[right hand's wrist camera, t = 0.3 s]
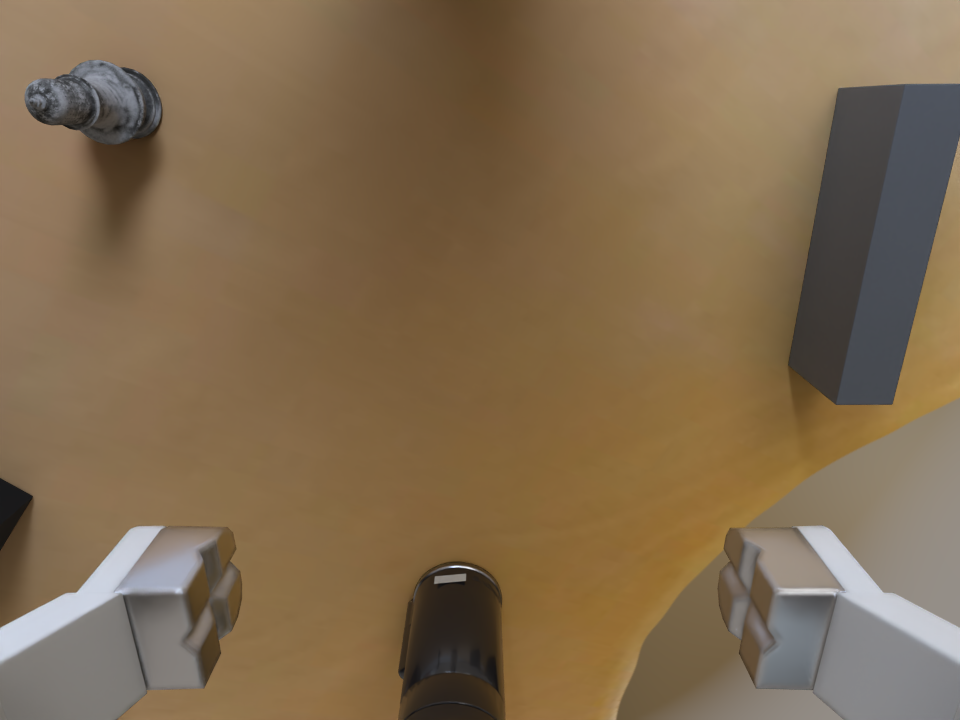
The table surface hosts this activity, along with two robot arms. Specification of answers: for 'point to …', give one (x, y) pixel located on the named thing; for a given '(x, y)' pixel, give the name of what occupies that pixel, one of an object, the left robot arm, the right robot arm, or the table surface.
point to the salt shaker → (97, 102)
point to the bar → (873, 236)
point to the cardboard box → (11, 508)
